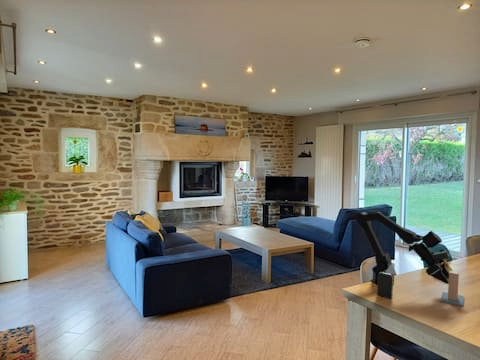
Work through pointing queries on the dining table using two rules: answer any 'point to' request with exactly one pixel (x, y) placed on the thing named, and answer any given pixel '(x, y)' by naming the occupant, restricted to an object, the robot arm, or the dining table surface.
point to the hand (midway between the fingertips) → (449, 280)
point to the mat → (456, 302)
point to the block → (453, 285)
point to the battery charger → (385, 284)
